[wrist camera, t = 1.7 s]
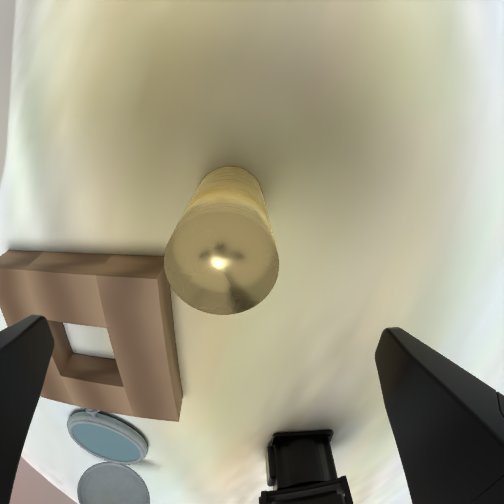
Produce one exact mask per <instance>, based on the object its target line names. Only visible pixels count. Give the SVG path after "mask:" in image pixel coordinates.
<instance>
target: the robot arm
mask: <svg viewBox="0 0 504 504" xmlns="http://www.w3.org/2000/svg"><path fill="white" fill-rule="evenodd" d="M53 350H54V338H53V335H52V332H51V329H50V327H49V324H48V321H47V319H46V317H44V316H42V315H36V314H32V315H30V316H28V317H26V318H24V319H22V320H20V321H19V322H17V323H15V324H13V325H11V326H9V327H7V328H6V329H4V330H2V331H0V504H9V503H10V498H11V493H12V489H13V484H14V480H15V476H16V472H17V468H18V464H19V460H20V457H21V453H22V450H23V446H24V443H25V439H26V436H27V433H28V430H29V427H30V424H31V421H32V418H33V415H34V412H35V409H36V406H37V403H38V400H39V398H40V395H41V392H42V388H43V385H44V381H45V377H46V374H47V370H48V366H49V363H50V360H51V356H52V353H53ZM375 361H376V366H377V370H378V375H379V379H380V384H381V389H382V394H383V399H384V404H385V408H386V411H387V415H388V418H389V421H390V424H391V427H392V431H393V434H394V437H395V441H396V444H397V448H398V451H399V454H400V458H401V462H402V465H403V469H404V472H405V476H406V480H407V484H408V488H409V491H410V495H411V499H412V504H504V395H502V394H501V393H499V392H496V390H494V389H493V388H491V387H490V386H488V385H487V384H485V383H484V382H482V381H481V380H479V379H478V378H476V377H475V376H473V375H472V374H470V373H469V372H467V371H466V370H464V369H463V368H461V367H460V366H458V365H457V364H455V363H453V362H452V361H450V360H449V359H447V358H446V357H444V356H443V355H441V354H440V353H438V352H437V351H435V350H433V349H432V348H430V347H429V346H427V345H426V344H424V343H423V342H421V341H420V340H418V339H416V338H415V337H413V336H412V335H410V334H409V333H407V332H406V331H404V330H402V329H401V328H399V327H393V328H386V329H384V330H383V332H382V334H381V337H380V340H379V343H378V346H377V349H376V352H375ZM332 436H333V431H332V430H323V431H310V432H294V433H276V434H274V435H273V437H272V442H271V446H268V447H267V452H266V457H265V458H266V472H267V485H268V486H273V491H261V497H259V504H353V501H352V497H351V493H350V489H349V486H348V482H347V478H346V475H345V476H341V477H340V478H338V477H337V473H336V468H335V464H334V459H333V455H332V451H331V446H330V441H331V438H332Z"/></svg>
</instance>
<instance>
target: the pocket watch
mask: <svg viewBox="0 0 504 504" xmlns="http://www.w3.org/2000/svg"><path fill="white" fill-rule="evenodd" d="M82 408H83V409H85V411H86V412H77V413H75V414H73V415H72V416H70V417H69V419H68V421H67V427H68V431H69V434H70V436H71V437H72V439H73V440H74V441H75V442H76V443H77V444H78V445H79V446H80V447H82V448H83V449H85V450H86V451H88V452H89V453H91V454H93V455H95V456H97V457H99V458H102V459H104V460H106V461H109V462H103V463H98V464H96V465H93V466H92V467H90V468H88V469H87V470H86V471H85V472H84V473H83V475H82V476H81V478H80V480H79V483H78V489H77V493H78V500H79V503H80V504H150V496H149V492H148V489H147V486H146V484H145V482H144V481H143V479H142V478H141V477H140V476H139V475H138V474H137V473H136V472H135V471H134V470H132V469H131V468H129V467H127V466H125V465H129V464H132V463H137V462H139V461H141V460H142V459H143V458H145V457H146V455H147V452H148V448H147V444H146V442H145V440H144V439H143V437H142V436H141V435H140V434H139V433H138V432H136V431H135V430H134V429H132V428H131V427H129V426H128V425H126V424H125V423H123V422H121V421H119V420H117V419H115V418H112V417H109V416H107V415H103V414H100V413H98V412H99V410H98V411H97V410H94V409H89V408H84V407H82ZM122 464H124V465H122Z"/></svg>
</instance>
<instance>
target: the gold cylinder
mask: <svg viewBox="0 0 504 504" xmlns="http://www.w3.org/2000/svg"><path fill="white" fill-rule="evenodd" d="M164 268H165V273H166V277H167V279H168V282H169V284H170V286H171V287H172V289H173V290H174V292H175V293H176V294H177V295H178V296H179V297H180V298H181V299H182V300H183V301H184V302H186V303H187V304H188V305H190V306H192V307H193V308H196V309H198V310H200V311H203V312H206V313H211V314H218V315H229V314H236V313H240V312H243V311H246V310H248V309H250V308H252V307H254V306H256V305H257V304H259V303H260V302H261V301H262V300H263V299H264V298H265V297H266V296H267V295H268V294H269V293H270V291H271V290H272V288H273V286H274V284H275V282H276V279H277V276H278V271H279V259H278V253H277V249H276V245H275V241H274V237H273V233H272V229H271V225H270V221H269V217H268V213H267V209H266V206H265V202H264V198H263V194H262V190H261V187H260V185H259V183H258V181H257V180H256V179H255V177H254V176H253V175H251V174H250V173H249V172H247V171H246V170H244V169H241V168H238V167H231V166H229V167H221V168H218V169H216V170H213V171H212V172H210V173H209V174H208V175H206V177H205V178H204V179H203V180H202V182H201V183H200V185H199V187H198V188H197V190H196V192H195V194H194V196H193V197H192V199H191V201H190V203H189V205H188V206H187V208H186V210H185V212H184V214H183V215H182V217H181V219H180V221H179V223H178V225H177V227H176V228H175V230H174V232H173V234H172V236H171V238H170V240H169V242H168V244H167V247H166V250H165V255H164Z"/></svg>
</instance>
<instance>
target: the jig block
mask: <svg viewBox="0 0 504 504" xmlns="http://www.w3.org/2000/svg"><path fill="white" fill-rule="evenodd" d="M0 308H1V310H2V313H3V316H4V318H5V321H6V323H7V326H8V327H9V326H11V325H13V324H15V323H17V322H19V321H20V320H22V319H24V318H26V317H28V316H30V315H32V314H36V315H42V316H44V317H46V319H47V321H48V324H49V327H50V329H51V332H52V335H53V338H54V350H53V353H52V356H51V360H50V363H49V366H48V370H47V374H46V377H45V381H44V385H43V388H42V392H41V395H40V396H41V397H44V398H47V399H51V400H55V401H59V402H63V403H67V404H71V405H75V406H80V407H84V408H89V409H94V410H99V411H104V412H110V413H116V414H121V415H128V416H134V417H141V418H149V419H157V420H166V421H176V422H179V417H180V410H181V404H182V398H183V394H182V388H181V381H180V374H179V367H178V359H177V351H176V343H175V335H174V326H173V316H172V306H171V295H170V284H169V282H168V279H167V277H166V273H165V268H164V257H159V256H133V255H108V254H83V253H60V252H37V251H16V250H8V251H7V252H5V253H4V254H3V255H2V256H0ZM62 322H64V323H71V324H78V325H86V326H94V327H103V328H107V329H108V333H109V337H110V341H111V345H112V349H113V352H114V356H115V359H116V360H113V359H106V358H99V357H92V356H86V355H79V354H73V352H72V350H71V347H70V344H69V341H68V338H67V335H66V332H65V329H64V326H63V323H62Z"/></svg>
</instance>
